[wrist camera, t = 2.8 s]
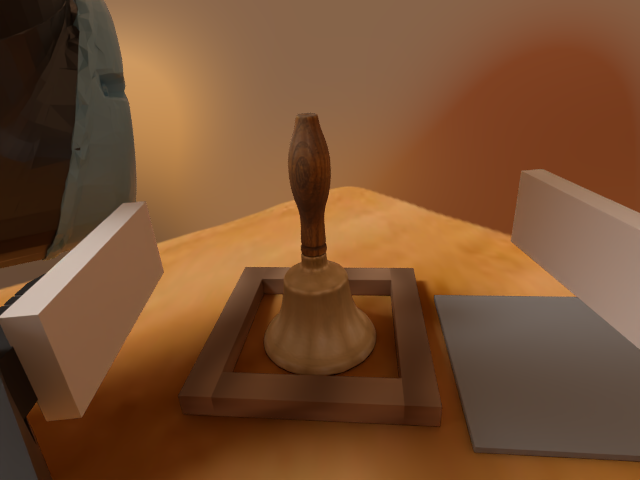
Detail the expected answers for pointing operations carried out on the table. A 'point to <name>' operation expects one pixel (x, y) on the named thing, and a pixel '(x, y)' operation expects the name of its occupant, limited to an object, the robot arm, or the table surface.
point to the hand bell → (316, 276)
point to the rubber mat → (542, 377)
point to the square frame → (314, 390)
